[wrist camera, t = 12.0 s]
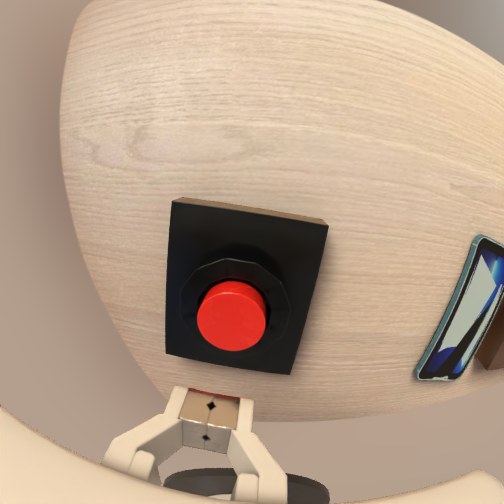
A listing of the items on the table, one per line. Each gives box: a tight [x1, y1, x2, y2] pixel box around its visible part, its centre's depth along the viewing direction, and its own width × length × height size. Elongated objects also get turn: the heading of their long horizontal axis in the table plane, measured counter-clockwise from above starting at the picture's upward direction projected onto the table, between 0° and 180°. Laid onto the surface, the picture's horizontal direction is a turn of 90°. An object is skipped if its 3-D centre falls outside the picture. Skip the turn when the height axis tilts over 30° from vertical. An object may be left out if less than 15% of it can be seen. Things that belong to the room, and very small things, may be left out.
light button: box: [197, 281, 266, 351], centre depth 17 cm, size 4×4×2 cm
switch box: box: [165, 197, 329, 375], centre depth 19 cm, size 12×10×4 cm
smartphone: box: [415, 234, 504, 381], centre depth 20 cm, size 7×1×15 cm
